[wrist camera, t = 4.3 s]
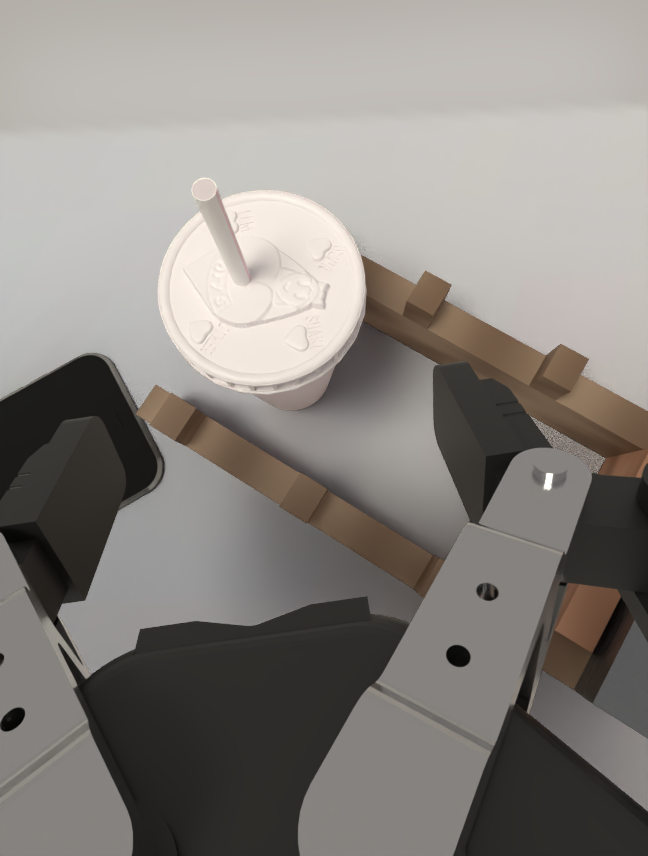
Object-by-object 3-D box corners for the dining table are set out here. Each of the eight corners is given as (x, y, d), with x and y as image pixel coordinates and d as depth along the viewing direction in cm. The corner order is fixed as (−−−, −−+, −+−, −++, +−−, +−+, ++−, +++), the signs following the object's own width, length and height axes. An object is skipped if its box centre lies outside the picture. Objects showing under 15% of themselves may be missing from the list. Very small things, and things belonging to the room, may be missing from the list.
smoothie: (243, 299, 26) (128, 46, 12) (370, 323, 25) (402, 88, 12) (212, 424, 25) (46, 303, 11) (343, 451, 24) (344, 360, 10)
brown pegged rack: (160, 426, 25) (120, 406, 20) (283, 243, 26) (271, 187, 22) (580, 690, 22) (639, 733, 18) (692, 470, 24) (772, 458, 19)
